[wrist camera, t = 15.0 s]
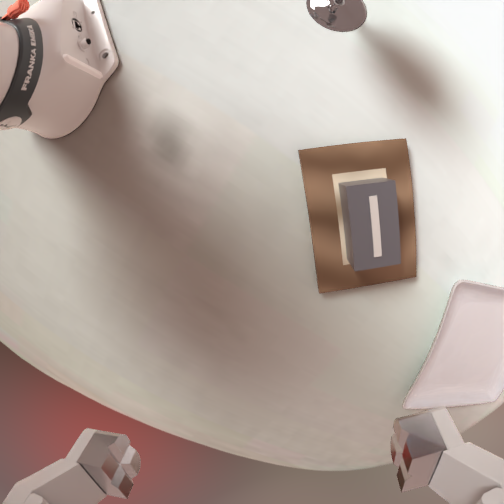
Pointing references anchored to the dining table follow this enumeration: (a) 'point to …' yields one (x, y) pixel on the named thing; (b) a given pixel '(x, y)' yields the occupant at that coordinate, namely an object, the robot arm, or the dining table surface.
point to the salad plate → (464, 351)
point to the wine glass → (338, 13)
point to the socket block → (370, 223)
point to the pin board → (330, 212)
